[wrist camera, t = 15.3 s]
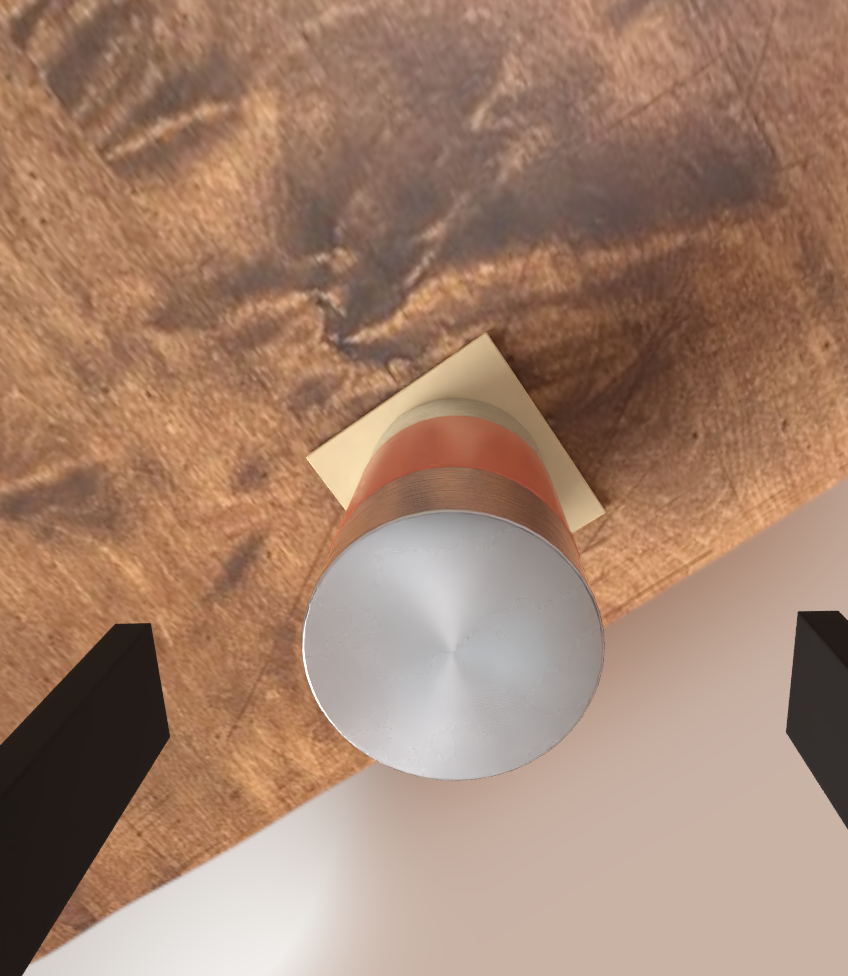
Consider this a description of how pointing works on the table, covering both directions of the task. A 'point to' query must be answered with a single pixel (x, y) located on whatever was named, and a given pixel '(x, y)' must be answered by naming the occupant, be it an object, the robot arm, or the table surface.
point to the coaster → (458, 376)
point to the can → (453, 602)
